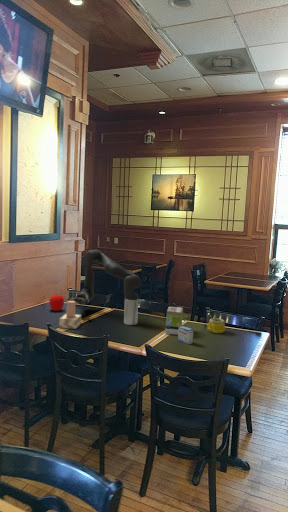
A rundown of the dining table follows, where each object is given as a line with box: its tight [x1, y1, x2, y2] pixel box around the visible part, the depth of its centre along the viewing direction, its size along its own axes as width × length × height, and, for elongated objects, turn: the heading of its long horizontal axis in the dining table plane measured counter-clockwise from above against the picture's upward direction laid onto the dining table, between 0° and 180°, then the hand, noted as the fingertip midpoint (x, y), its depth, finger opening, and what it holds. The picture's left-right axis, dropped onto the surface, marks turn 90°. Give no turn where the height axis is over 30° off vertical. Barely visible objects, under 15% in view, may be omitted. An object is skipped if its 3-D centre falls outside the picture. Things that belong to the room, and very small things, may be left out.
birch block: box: [58, 313, 82, 330], centre depth 241 cm, size 11×13×6 cm
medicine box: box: [177, 325, 194, 345], centre depth 216 cm, size 8×4×9 cm, turn 45°
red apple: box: [48, 293, 65, 312], centre depth 279 cm, size 11×11×13 cm
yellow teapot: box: [206, 314, 226, 334], centre depth 240 cm, size 13×11×12 cm
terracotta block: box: [65, 300, 77, 318], centre depth 240 cm, size 5×5×10 cm
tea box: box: [164, 306, 184, 336], centre depth 238 cm, size 15×10×15 cm, turn 171°
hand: (75, 302), depth 251 cm, fingers open, 8 cm apart
